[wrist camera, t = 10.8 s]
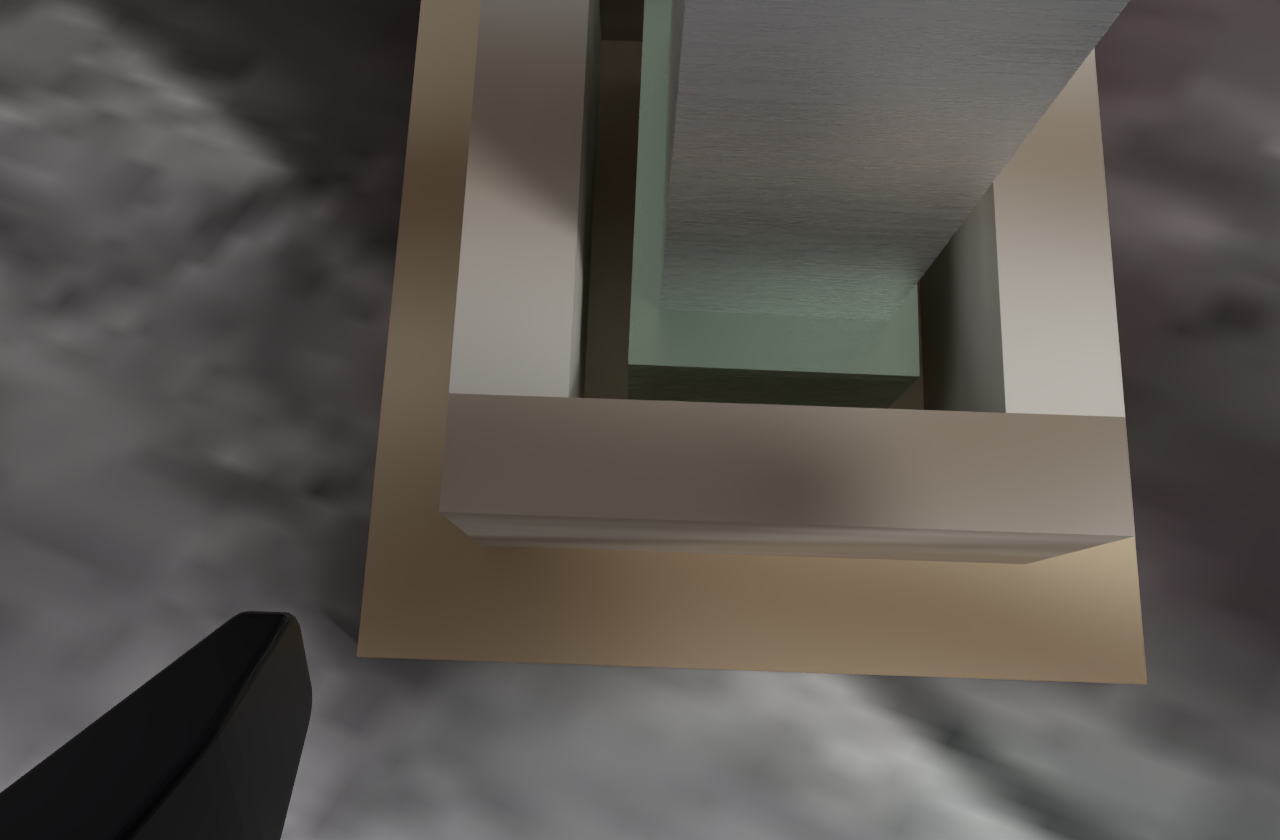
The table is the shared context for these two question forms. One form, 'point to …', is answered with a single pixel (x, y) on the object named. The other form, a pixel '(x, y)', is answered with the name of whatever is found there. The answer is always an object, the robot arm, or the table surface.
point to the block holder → (730, 411)
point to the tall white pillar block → (820, 180)
